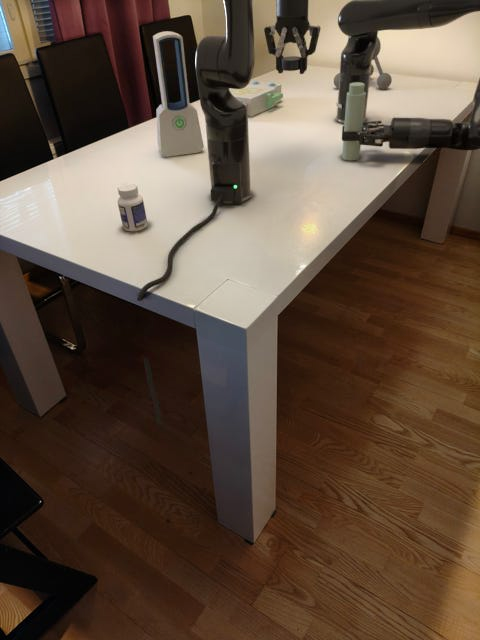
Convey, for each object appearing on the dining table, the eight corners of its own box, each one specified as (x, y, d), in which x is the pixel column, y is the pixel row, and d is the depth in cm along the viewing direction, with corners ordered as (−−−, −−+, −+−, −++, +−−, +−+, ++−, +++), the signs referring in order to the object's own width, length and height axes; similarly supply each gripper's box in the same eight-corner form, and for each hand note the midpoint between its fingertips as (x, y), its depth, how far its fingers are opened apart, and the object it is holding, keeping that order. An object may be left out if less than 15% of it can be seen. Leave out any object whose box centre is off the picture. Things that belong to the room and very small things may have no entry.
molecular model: (320, 82, 200) (324, -5, 182) (368, 76, 205) (377, -10, 186) (347, 95, 182) (354, 0, 164) (399, 88, 187) (412, -5, 168)
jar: (353, 161, 129) (360, 87, 118) (338, 158, 132) (343, 84, 121) (362, 156, 132) (370, 83, 121) (348, 153, 135) (354, 81, 123)
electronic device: (161, 157, 138) (144, 37, 120) (158, 149, 144) (140, 33, 126) (204, 151, 141) (193, 32, 122) (199, 144, 146) (188, 28, 128)
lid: (291, 65, 126) (291, 55, 125) (305, 68, 123) (306, 57, 122) (277, 69, 124) (277, 58, 122) (291, 71, 121) (291, 61, 119)
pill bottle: (149, 220, 107) (142, 181, 102) (146, 231, 103) (138, 191, 98) (125, 221, 107) (116, 182, 102) (121, 232, 103) (112, 193, 98)
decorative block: (245, 78, 184) (291, 83, 175) (246, 96, 188) (291, 102, 178) (203, 94, 168) (250, 100, 159) (204, 113, 172) (251, 121, 162)
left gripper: (258, -5, 113) (260, 75, 124) (318, -6, 108) (315, 77, 119) (268, -8, 118) (269, 69, 129) (326, -10, 114) (322, 70, 124)
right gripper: (409, 110, 129) (343, 110, 132) (414, 126, 118) (342, 126, 121) (404, 139, 133) (341, 138, 136) (409, 157, 122) (340, 156, 125)
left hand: (291, 72), depth 124 cm, fingers closed on lid, 5 cm apart
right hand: (342, 133), depth 128 cm, fingers closed on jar, 4 cm apart
